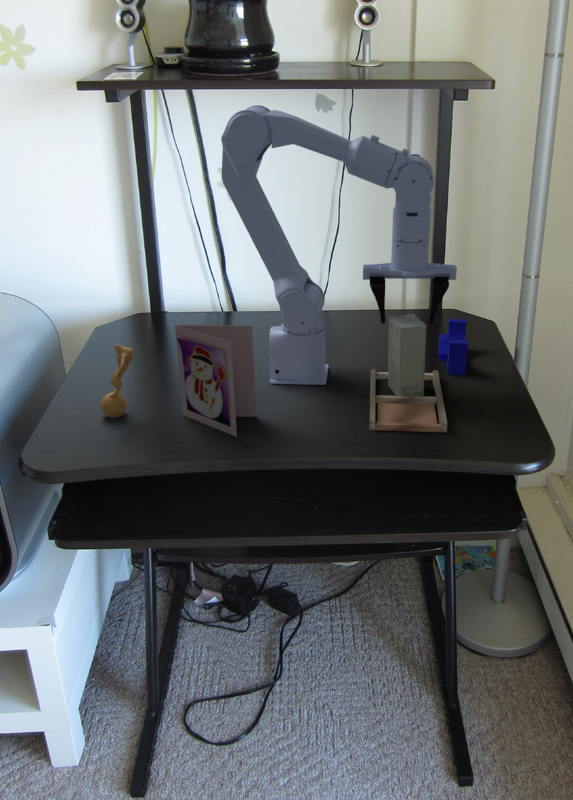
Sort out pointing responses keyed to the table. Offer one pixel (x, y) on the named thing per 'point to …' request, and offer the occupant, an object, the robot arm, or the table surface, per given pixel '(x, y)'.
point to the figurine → (117, 385)
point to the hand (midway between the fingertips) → (406, 321)
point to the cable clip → (454, 347)
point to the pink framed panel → (407, 408)
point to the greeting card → (216, 374)
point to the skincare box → (406, 355)
